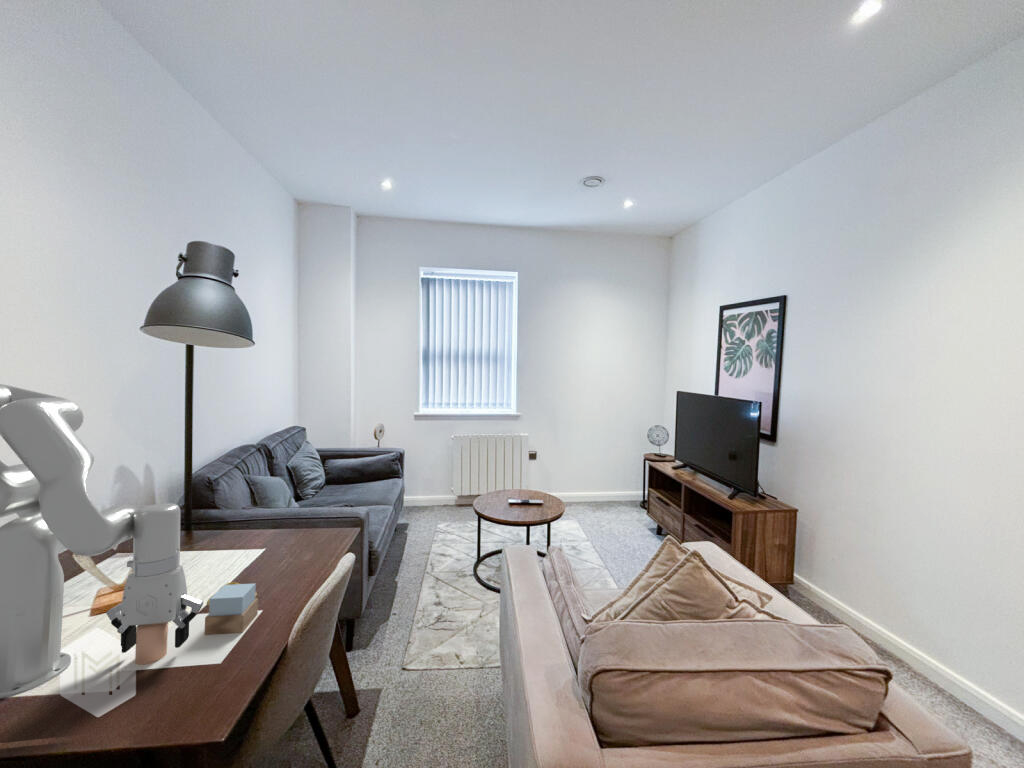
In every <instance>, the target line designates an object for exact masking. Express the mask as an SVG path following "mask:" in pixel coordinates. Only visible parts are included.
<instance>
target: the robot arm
mask: <svg viewBox="0 0 1024 768" xmlns="http://www.w3.org/2000/svg"><path fill="white" fill-rule="evenodd" d="M83 423H84V413H83V411H82V409H81V408H80V407H79V406H78V405H77V404H76V403H75V402H73V401H72V400H70V399H68V398H64V397H60V396H55V395H51V394H47V393H42V392H38V391H34V390H29V389H25V388H20V387H16V386H12V385H9V384H8V385H7V384H2V383H0V437H1V438H2V439H3V440H4V441H5V442H6V444H7V445H8V447H10V449H11V450H12V451H13V452H14V454H15V455H16V456H17V457H18V459H19V460H20V461H21V462H22V463H20V464H13V465H6V464H5V463H4V462H3V461H2V460H0V519H2V518H4V517H8V516H12V515H14V514H16V515H17V516H18V517H16V518H14V519H12V520H10V521H8V522H6V523H4V524H3V525H0V699H2V698H6V697H11V696H15V695H18V694H21V693H23V692H27V691H30V690H32V689H34V688H37V687H39V686H41V685H43V684H46V683H47V682H49V681H52V680H53V679H55V678H57V677H58V676H59V675H61V674H62V673H63V672H65V671H66V670H67V669H68V668H69V666H70V665H71V662H72V657H71V655H70V654H68V653H65V652H61V649H62V647H61V646H62V629H63V614H64V613H63V612H64V611H63V610H64V592H65V589H64V586H65V574H64V571H63V567H62V564H61V562H60V559H59V554H60V553H61V552H62V551H65V550H68V551H70V552H71V553H72V554H75V555H78V556H81V557H93V556H94V557H95V556H98V555H101V554H104V553H105V552H108V551H110V550H111V549H113V548H115V547H116V546H119V544H121V543H124V542H126V541H128V540H130V539H132V540H133V542H132V547H133V548H132V560H128V561H127V563H126V568H131V572H132V573H129V574H128V576H127V578H126V581H125V585H124V589H123V593H122V598H121V603H119V604H117V605H115V606H114V607H112V608H110V609H109V610H107V611H106V616H107V617H108V620H109V621H110V624H111V625H112V626H113V627H114V628H115V629H116V631H117V633H118V634H120V647H121V654H125V653H127V652H128V651H129V650H131V649H132V648H133V647H134V646H136V634H137V626H138V625H148V624H160V623H168V624H169V623H171V622H173V624H174V623H175V624H176V625H177V626H178V628H177V629H176V630H175V647H176V648H179V647H180V646H181V645H182V644H183V643H184V642H185V641H186V640H187V639H188V637H189V622H190V621H191V620H192V619H193V618H194V617H195V616H196V615H197V614H200V613H199V612H200V610H201V609H202V607H203V606H204V601H203V600H201V599H197V598H195V597H193V596H190V595H188V589H187V580H186V574H185V570H184V567H183V565H180V562H181V560H180V559H181V558H180V555H181V508H180V506H179V505H178V504H176V503H172V502H171V503H168V502H167V503H157V504H156V503H155V504H151V505H149V504H147V505H146V504H145V505H143V504H133V503H130V504H129V503H122V504H117V505H112V506H110V507H108V508H105V509H103V510H101V511H100V510H99V508H97V506H96V505H95V504H94V502H93V501H92V499H91V497H90V496H89V494H88V489H87V478H88V475H89V473H90V471H91V469H92V467H93V464H94V462H95V457H94V455H93V453H91V451H90V450H89V449H88V447H87V446H86V445H85V444H84V442H83V440H82V439H81V438H80V437H79V436H78V435H77V433H76V432H77V431H78V430H79V429H80V428H81V426H82V424H83ZM187 607H190V609H191V610H190V612H188V611H187Z"/></svg>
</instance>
